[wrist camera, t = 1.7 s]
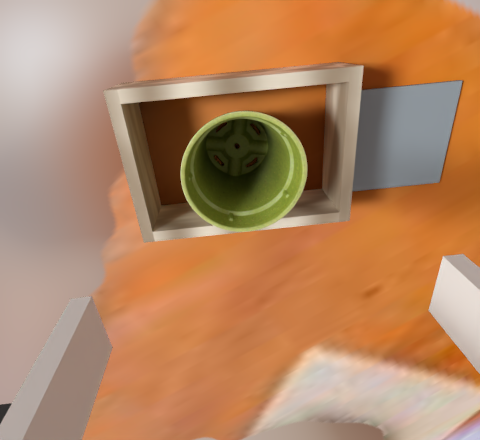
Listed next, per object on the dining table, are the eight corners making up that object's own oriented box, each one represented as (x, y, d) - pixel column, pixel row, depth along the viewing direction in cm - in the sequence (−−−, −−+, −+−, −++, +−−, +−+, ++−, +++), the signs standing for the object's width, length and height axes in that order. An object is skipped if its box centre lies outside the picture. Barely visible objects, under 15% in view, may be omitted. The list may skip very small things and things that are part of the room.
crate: (338, 62, 28) (363, 65, 24) (330, 196, 35) (349, 220, 30) (122, 83, 28) (103, 90, 23) (153, 214, 34) (143, 242, 30)
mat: (459, 80, 30) (462, 80, 30) (437, 181, 35) (439, 182, 34) (352, 90, 30) (354, 91, 29) (345, 190, 34) (346, 192, 34)
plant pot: (304, 147, 32) (332, 179, 24) (234, 206, 35) (239, 252, 27) (241, 70, 28) (250, 79, 21) (168, 143, 31) (152, 175, 23)
